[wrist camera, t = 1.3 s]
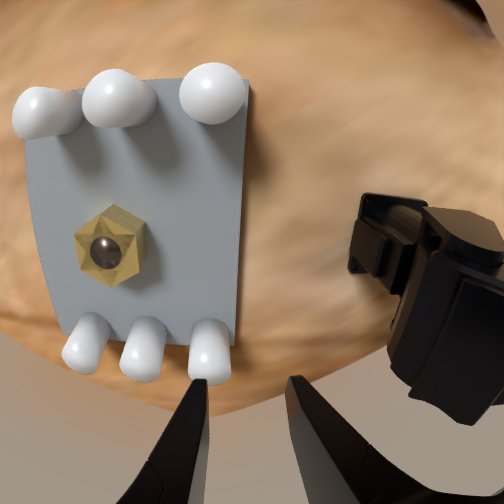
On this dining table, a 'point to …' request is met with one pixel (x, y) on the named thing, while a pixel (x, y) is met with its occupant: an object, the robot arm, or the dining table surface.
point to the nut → (112, 246)
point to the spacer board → (142, 211)
